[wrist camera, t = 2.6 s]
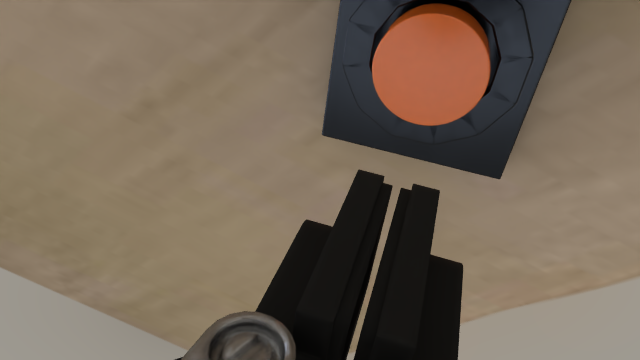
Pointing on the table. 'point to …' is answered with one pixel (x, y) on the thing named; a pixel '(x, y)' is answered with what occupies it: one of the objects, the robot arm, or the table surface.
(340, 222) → the robot arm
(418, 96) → the button
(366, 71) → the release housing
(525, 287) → the table surface
